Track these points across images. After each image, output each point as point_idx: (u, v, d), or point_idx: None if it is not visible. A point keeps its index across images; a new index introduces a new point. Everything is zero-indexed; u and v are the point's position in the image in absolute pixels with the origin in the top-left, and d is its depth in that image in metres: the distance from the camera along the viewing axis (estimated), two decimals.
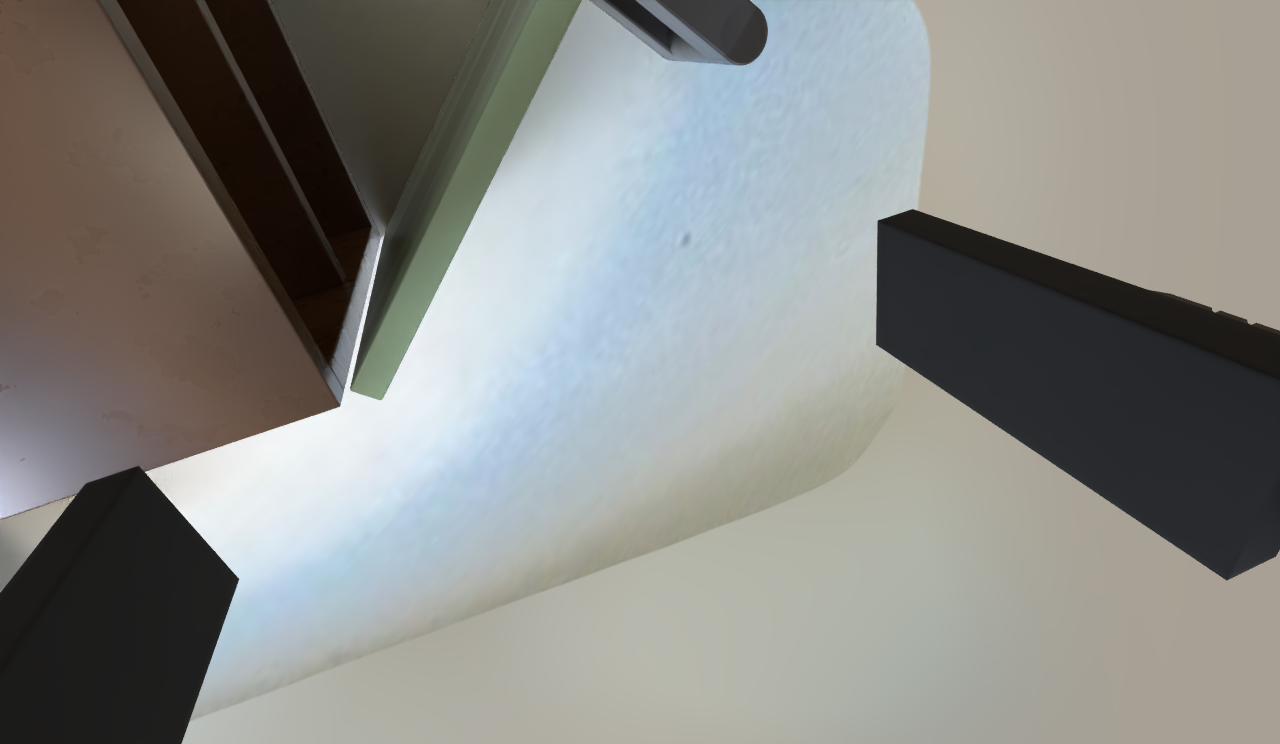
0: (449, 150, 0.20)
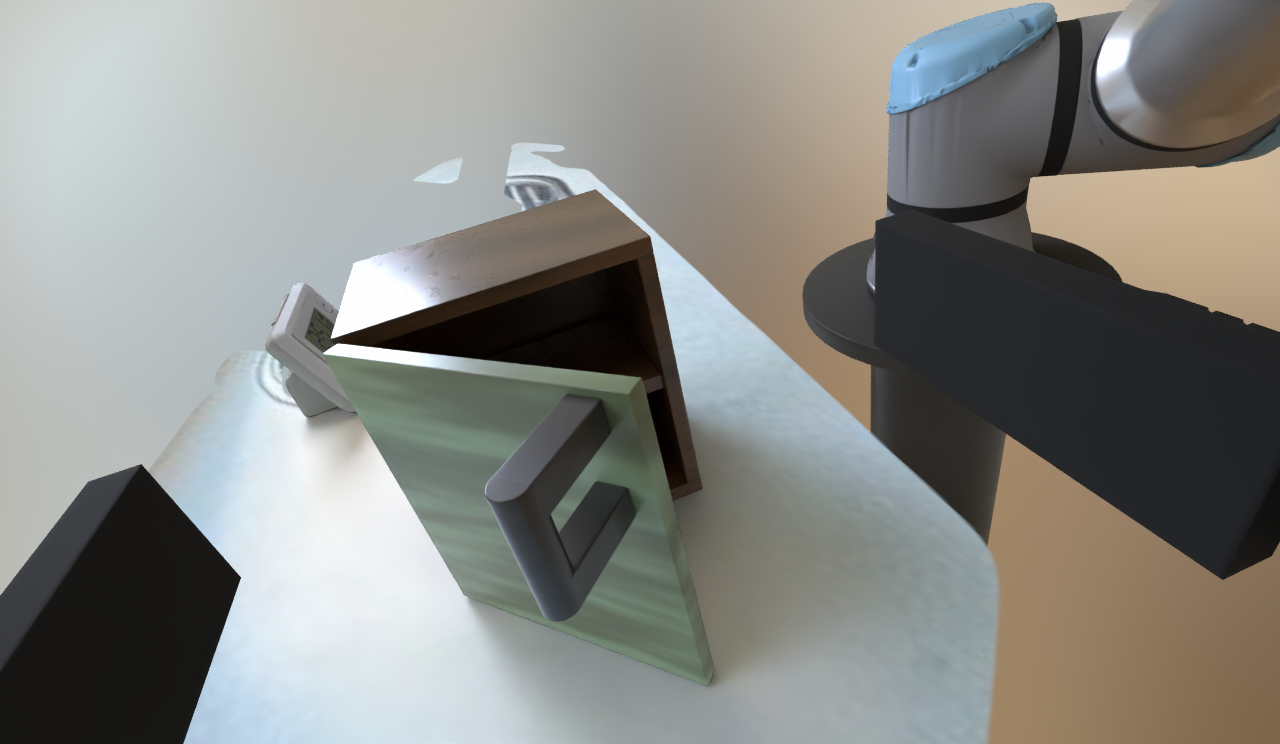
0: None
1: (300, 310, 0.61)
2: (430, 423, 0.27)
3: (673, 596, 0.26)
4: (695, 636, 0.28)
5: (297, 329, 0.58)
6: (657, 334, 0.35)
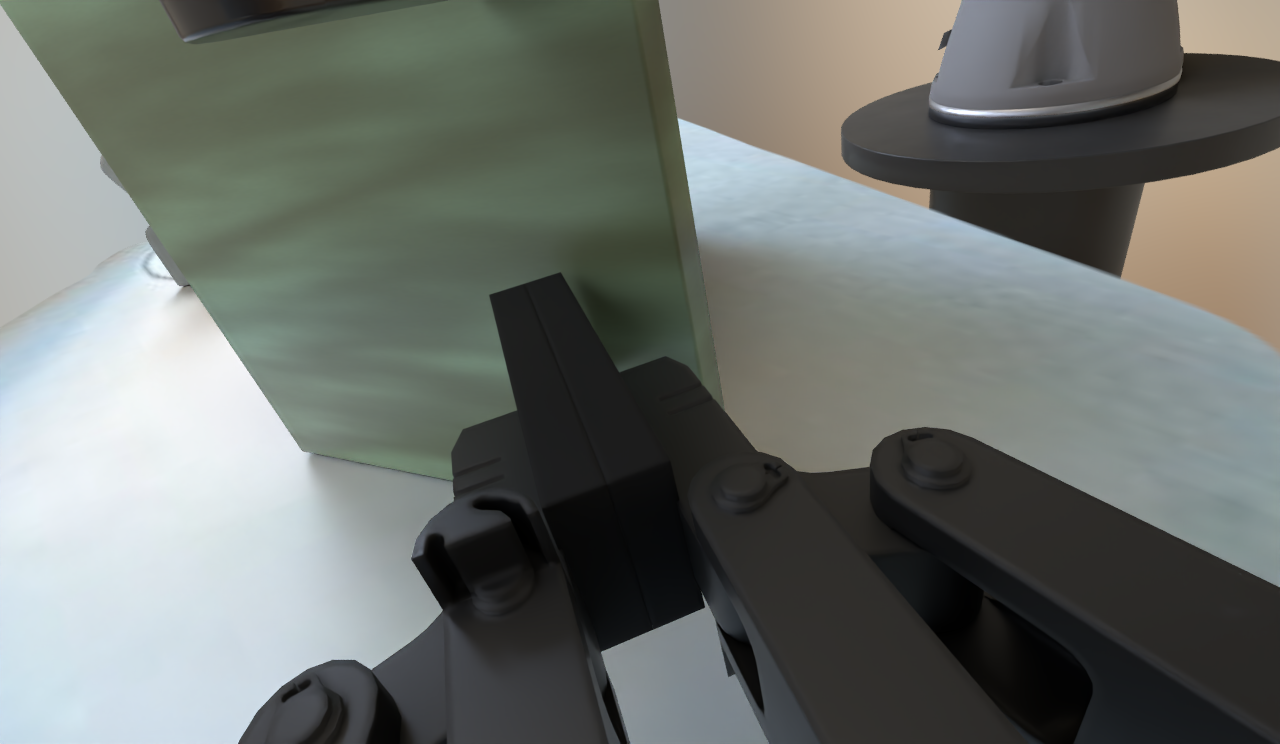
0: None
1: None
2: None
3: (656, 277, 0.11)
4: None
5: None
6: None
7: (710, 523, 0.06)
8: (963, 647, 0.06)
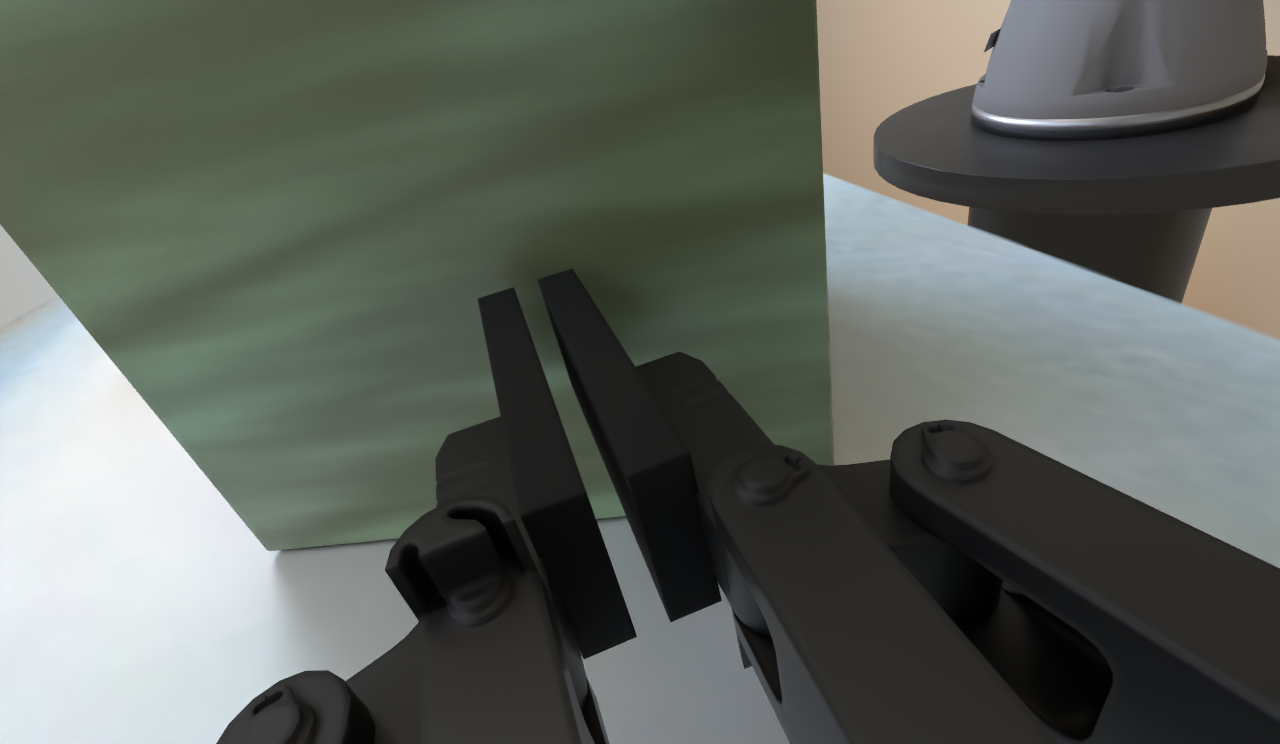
0: None
1: None
2: None
3: (796, 239, 0.12)
4: (829, 355, 0.13)
5: None
6: None
7: (731, 514, 0.06)
8: (981, 639, 0.06)
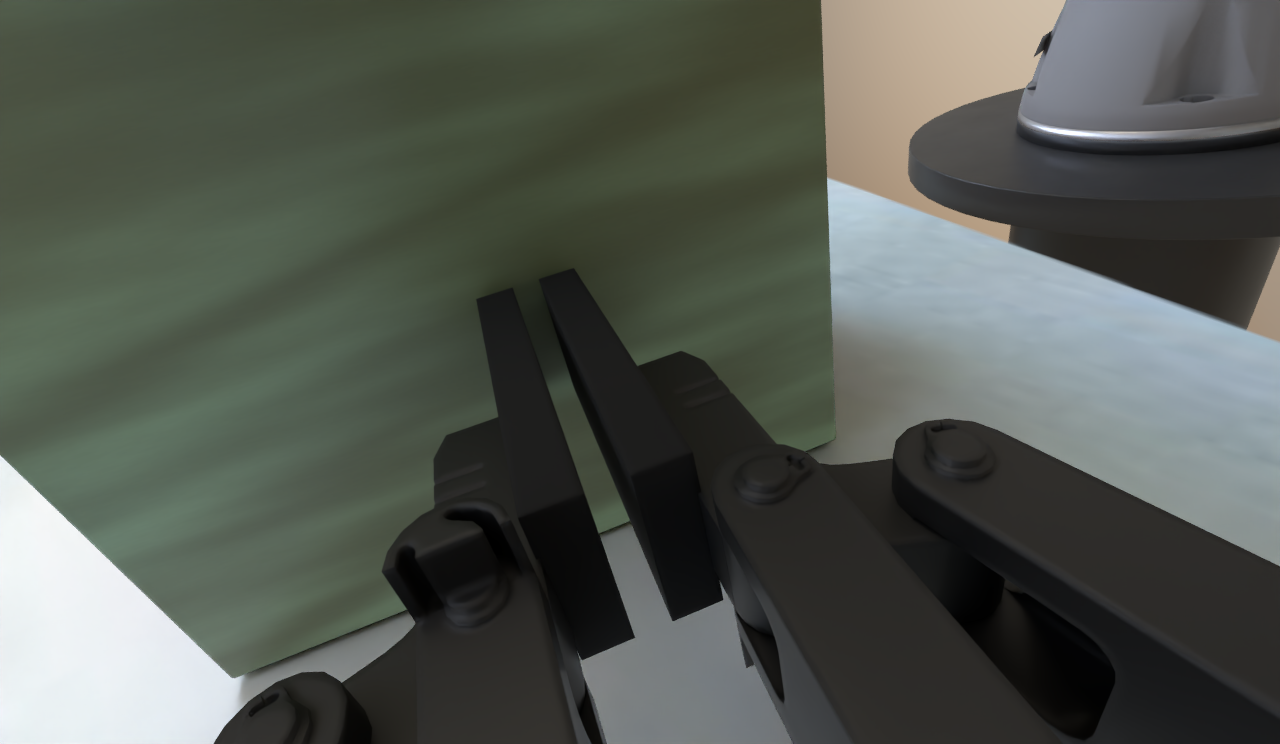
0: None
1: None
2: None
3: (806, 203, 0.13)
4: None
5: None
6: None
7: (734, 513, 0.06)
8: (983, 638, 0.06)
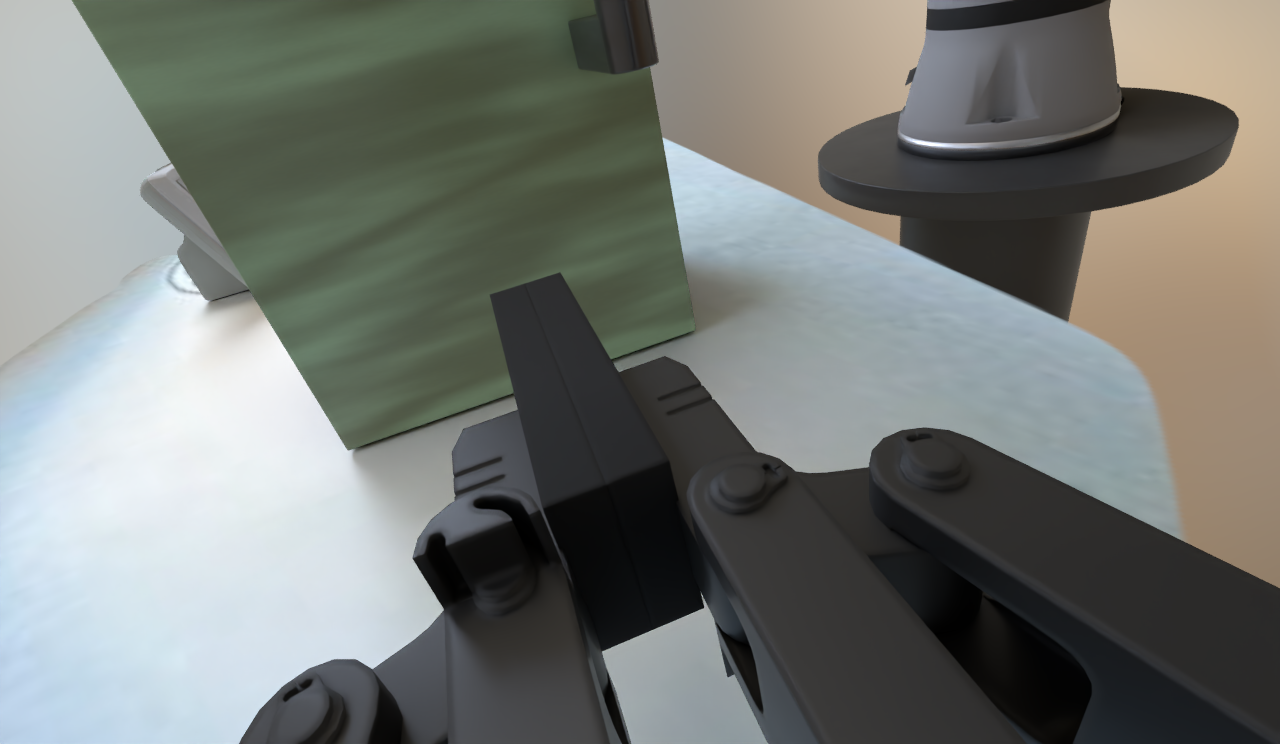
0: None
1: None
2: (300, 33, 0.19)
3: (658, 187, 0.25)
4: None
5: None
6: None
7: (709, 523, 0.06)
8: (962, 648, 0.06)
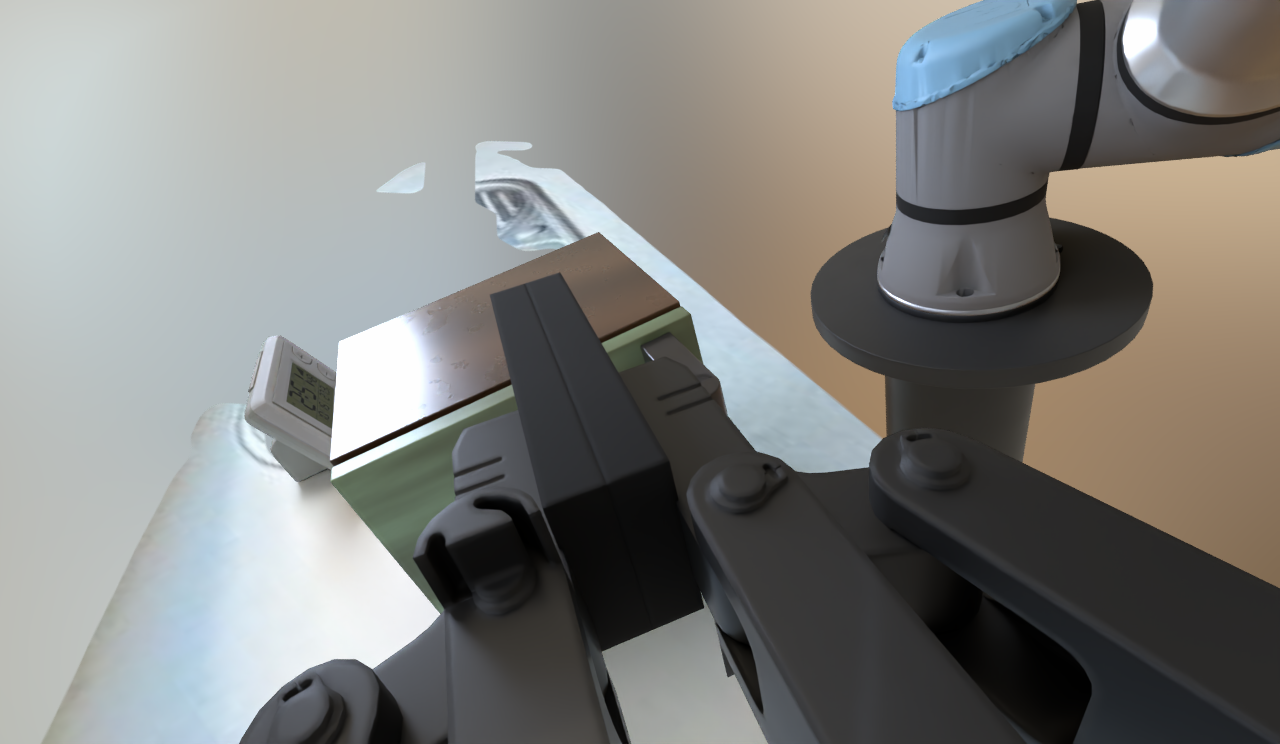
0: None
1: (277, 369, 0.56)
2: None
3: None
4: None
5: (278, 393, 0.53)
6: None
7: (709, 523, 0.06)
8: (962, 647, 0.06)
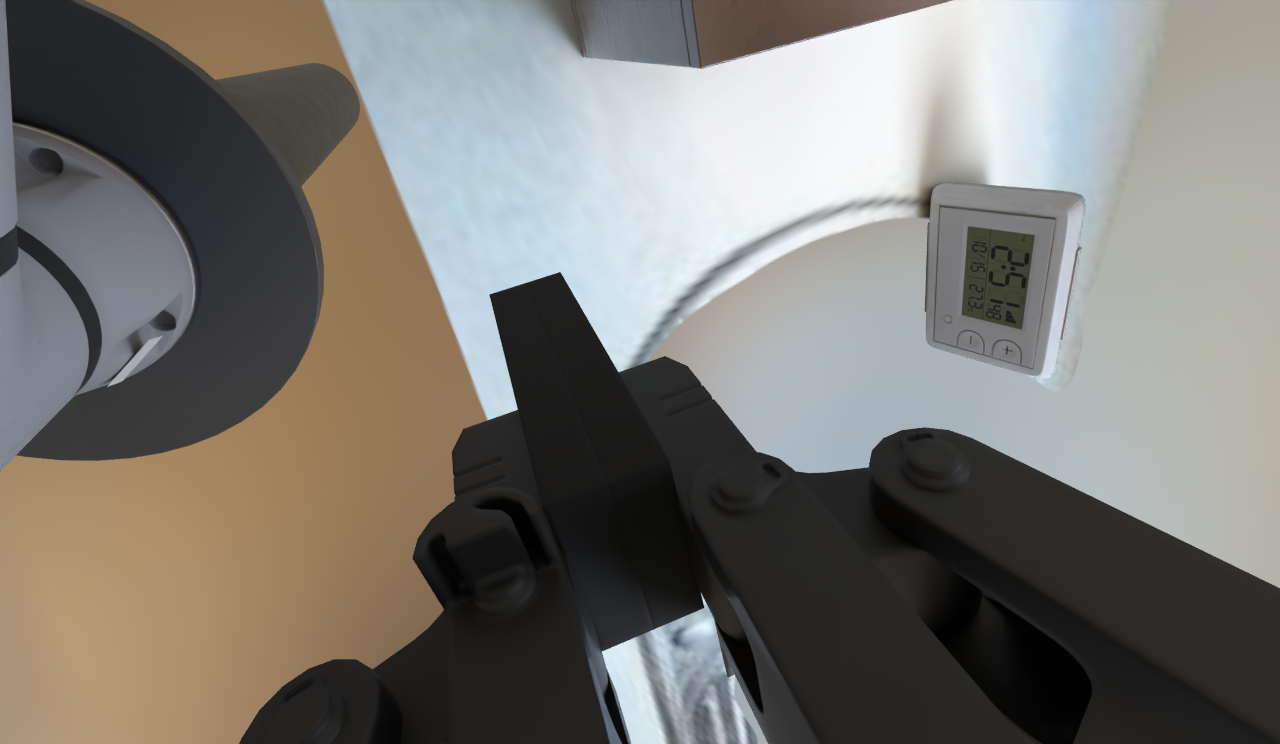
0: None
1: (1044, 296, 0.45)
2: None
3: None
4: None
5: (1047, 242, 0.43)
6: None
7: (709, 524, 0.06)
8: (962, 648, 0.06)
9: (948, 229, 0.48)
